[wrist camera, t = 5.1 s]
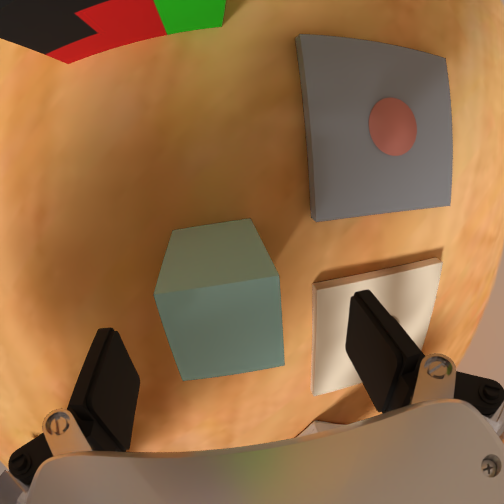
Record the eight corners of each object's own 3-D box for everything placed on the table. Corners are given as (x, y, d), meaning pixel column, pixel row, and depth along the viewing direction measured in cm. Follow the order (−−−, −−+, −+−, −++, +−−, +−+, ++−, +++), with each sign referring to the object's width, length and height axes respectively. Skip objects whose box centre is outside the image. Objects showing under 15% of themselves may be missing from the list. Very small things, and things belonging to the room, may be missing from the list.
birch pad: (310, 389, 26) (313, 397, 25) (312, 283, 21) (317, 291, 20) (412, 357, 27) (418, 363, 26) (436, 257, 23) (443, 262, 22)
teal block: (187, 297, 20) (182, 380, 13) (172, 230, 18) (153, 294, 11) (257, 286, 21) (284, 365, 14) (250, 218, 19) (279, 275, 12)
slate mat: (310, 217, 19) (316, 222, 18) (294, 38, 15) (300, 33, 14) (442, 202, 21) (451, 206, 20) (437, 59, 16) (446, 58, 15)
